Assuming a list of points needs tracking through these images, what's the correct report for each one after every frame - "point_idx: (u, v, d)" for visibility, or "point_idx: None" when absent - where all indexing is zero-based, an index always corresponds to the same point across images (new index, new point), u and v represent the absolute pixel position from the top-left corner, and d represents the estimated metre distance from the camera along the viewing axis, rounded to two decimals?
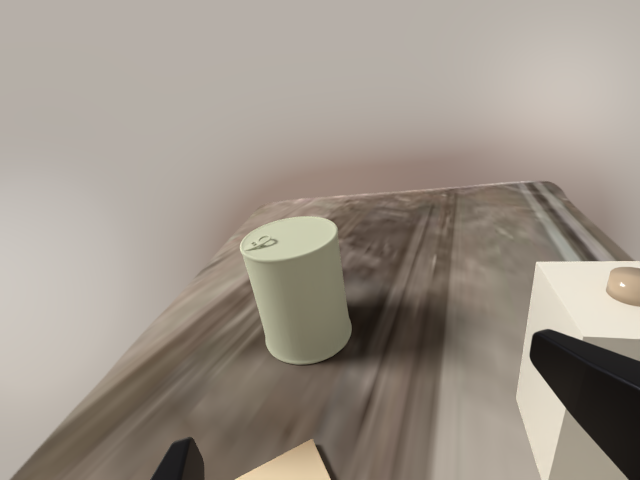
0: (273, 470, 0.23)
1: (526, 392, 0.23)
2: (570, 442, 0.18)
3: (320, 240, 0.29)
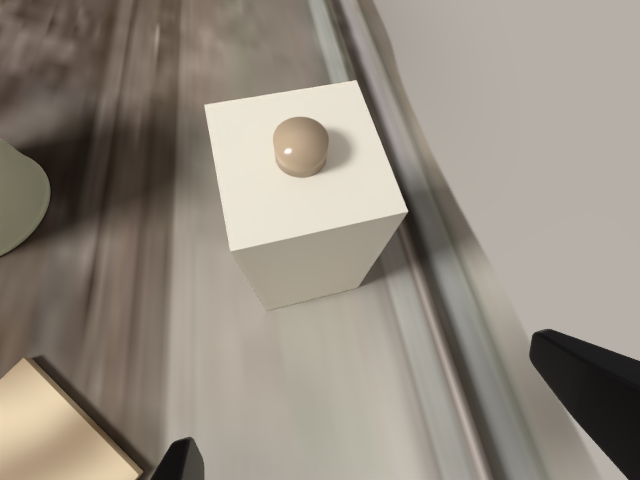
0: None
1: None
2: (268, 292, 0.18)
3: None
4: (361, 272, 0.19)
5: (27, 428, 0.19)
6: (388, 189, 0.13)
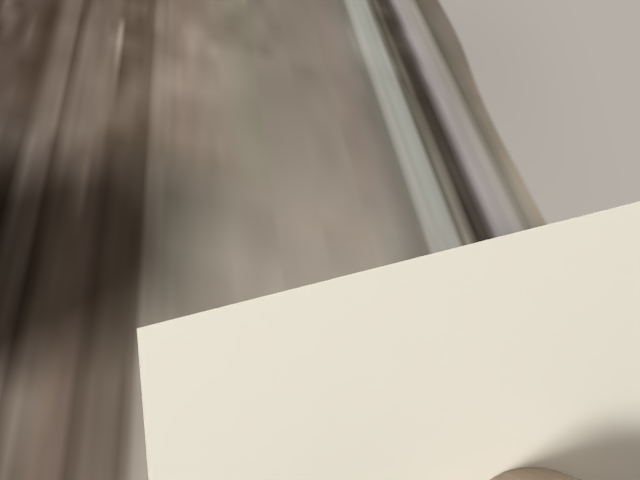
0: None
1: None
2: None
3: None
4: None
5: None
6: None
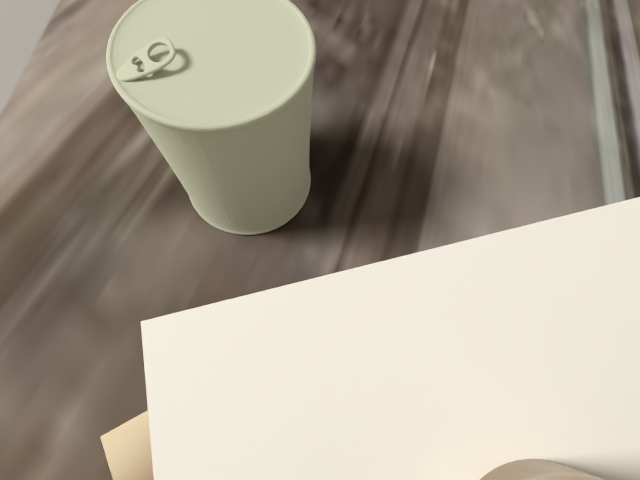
0: None
1: None
2: None
3: (283, 77, 0.14)
4: None
5: None
6: None
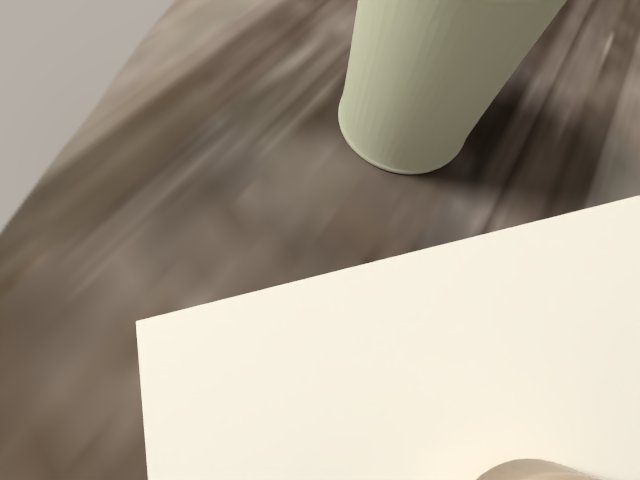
0: None
1: None
2: None
3: None
4: None
5: None
6: None
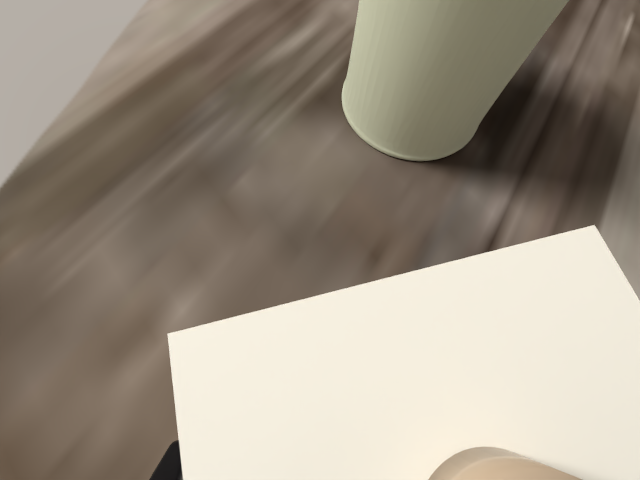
0: None
1: None
2: None
3: None
4: None
5: None
6: None
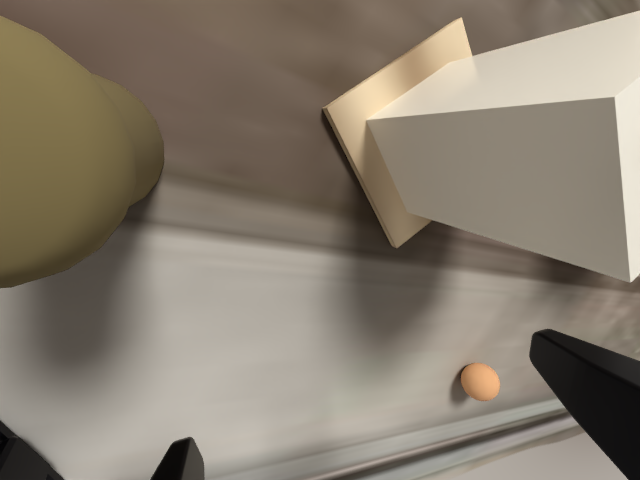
0: None
1: (463, 68, 0.17)
2: (426, 126, 0.15)
3: None
4: (454, 221, 0.18)
5: None
6: None
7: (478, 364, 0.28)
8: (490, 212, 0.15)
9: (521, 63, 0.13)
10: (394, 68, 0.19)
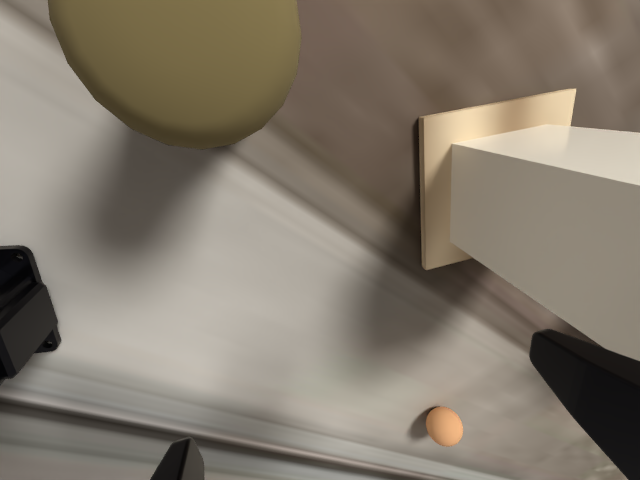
0: None
1: (561, 133, 0.18)
2: (510, 169, 0.16)
3: None
4: (494, 264, 0.18)
5: None
6: None
7: (449, 409, 0.29)
8: (535, 268, 0.16)
9: (622, 147, 0.14)
10: (497, 108, 0.19)
